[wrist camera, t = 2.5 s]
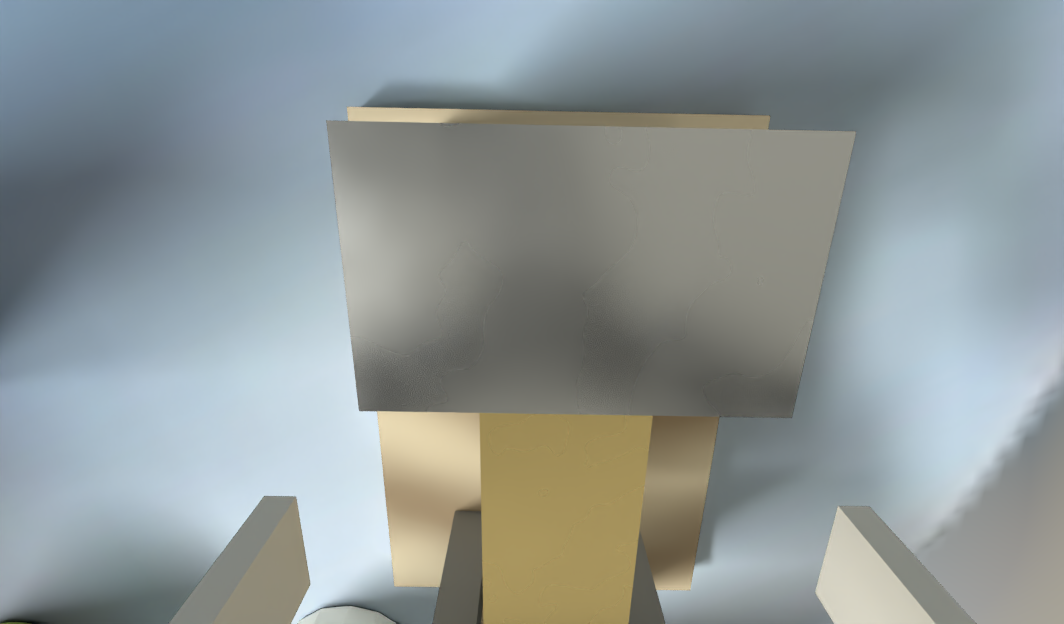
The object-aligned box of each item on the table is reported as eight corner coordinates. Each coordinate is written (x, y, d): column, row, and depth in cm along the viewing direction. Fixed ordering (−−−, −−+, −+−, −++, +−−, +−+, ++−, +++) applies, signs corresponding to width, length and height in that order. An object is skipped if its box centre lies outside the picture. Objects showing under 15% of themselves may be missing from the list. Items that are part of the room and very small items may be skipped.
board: (358, 108, 18) (346, 106, 17) (755, 116, 18) (770, 115, 17) (400, 565, 25) (394, 586, 24) (682, 569, 25) (689, 590, 24)
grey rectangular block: (438, 124, 17) (326, 120, 8) (678, 129, 17) (856, 131, 8) (444, 270, 18) (359, 410, 9) (662, 274, 19) (792, 418, 9)
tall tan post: (486, 145, 13) (468, 151, 10) (643, 148, 14) (689, 156, 10) (491, 551, 18) (480, 667, 14) (606, 552, 18) (627, 669, 14)
